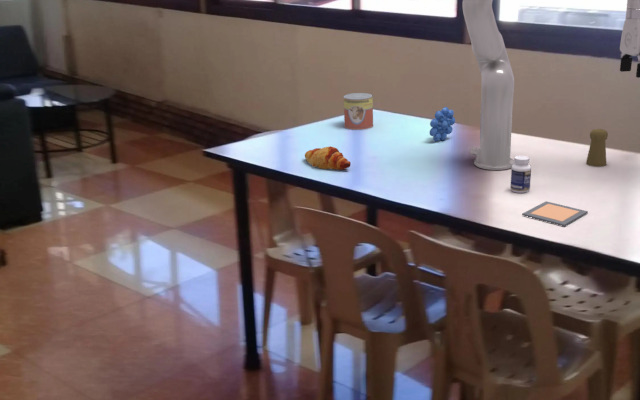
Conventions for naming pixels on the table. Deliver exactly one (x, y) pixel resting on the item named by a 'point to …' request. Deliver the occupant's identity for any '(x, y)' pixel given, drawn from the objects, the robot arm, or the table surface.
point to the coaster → (555, 213)
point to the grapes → (442, 124)
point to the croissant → (327, 158)
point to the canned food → (358, 111)
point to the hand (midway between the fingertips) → (633, 74)
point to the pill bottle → (520, 175)
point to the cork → (597, 148)
